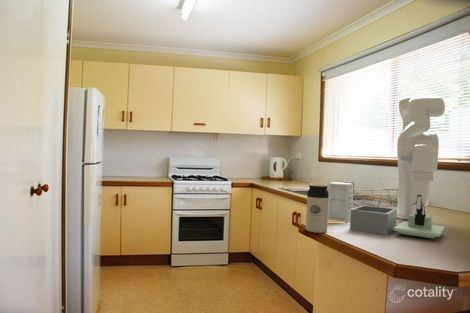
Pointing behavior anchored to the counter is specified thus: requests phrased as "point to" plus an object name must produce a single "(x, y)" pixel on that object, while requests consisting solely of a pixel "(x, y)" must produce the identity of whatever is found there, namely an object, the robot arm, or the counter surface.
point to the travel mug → (317, 208)
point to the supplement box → (340, 201)
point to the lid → (419, 228)
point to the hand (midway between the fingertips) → (419, 224)
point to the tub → (373, 219)
